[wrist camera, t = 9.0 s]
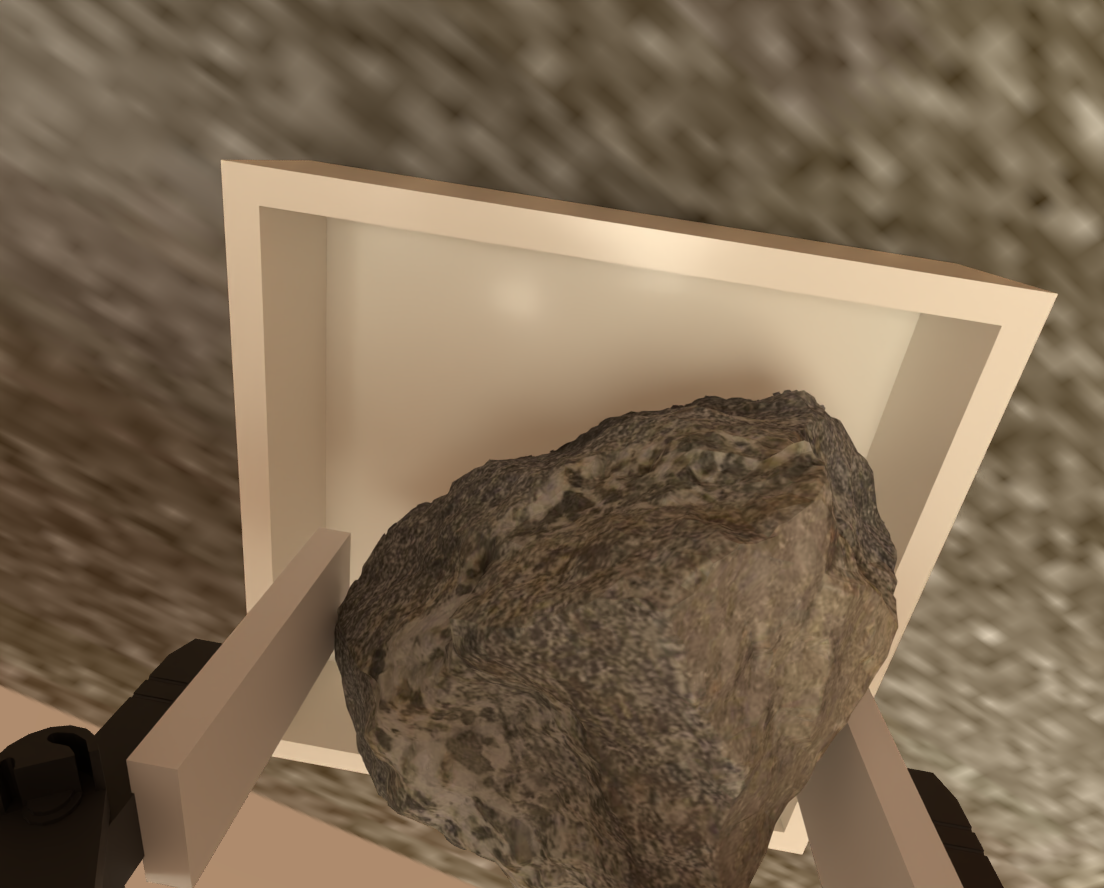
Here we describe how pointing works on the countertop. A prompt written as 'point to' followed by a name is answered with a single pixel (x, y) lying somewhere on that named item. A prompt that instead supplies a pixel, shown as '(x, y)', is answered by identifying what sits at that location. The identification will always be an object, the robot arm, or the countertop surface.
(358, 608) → the rock
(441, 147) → the countertop surface
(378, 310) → the dish
